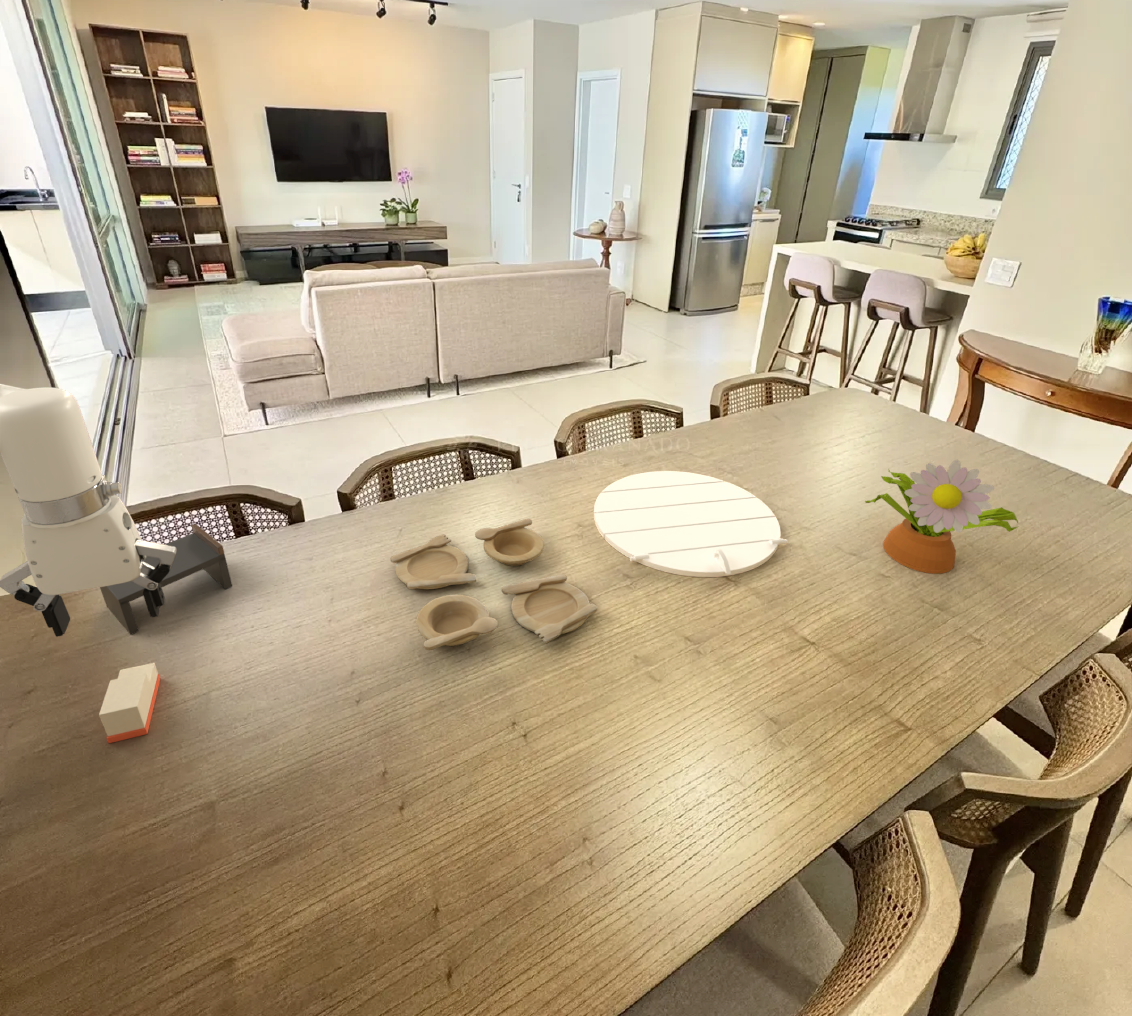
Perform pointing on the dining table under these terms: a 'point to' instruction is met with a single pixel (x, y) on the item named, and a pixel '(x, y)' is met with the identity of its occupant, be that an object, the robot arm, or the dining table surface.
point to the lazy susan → (687, 524)
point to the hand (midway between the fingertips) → (111, 619)
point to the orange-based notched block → (130, 702)
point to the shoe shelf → (171, 573)
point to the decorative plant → (938, 515)
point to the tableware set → (533, 606)
